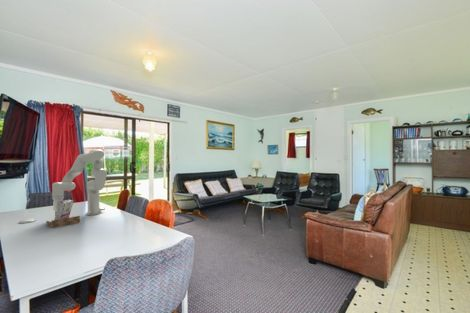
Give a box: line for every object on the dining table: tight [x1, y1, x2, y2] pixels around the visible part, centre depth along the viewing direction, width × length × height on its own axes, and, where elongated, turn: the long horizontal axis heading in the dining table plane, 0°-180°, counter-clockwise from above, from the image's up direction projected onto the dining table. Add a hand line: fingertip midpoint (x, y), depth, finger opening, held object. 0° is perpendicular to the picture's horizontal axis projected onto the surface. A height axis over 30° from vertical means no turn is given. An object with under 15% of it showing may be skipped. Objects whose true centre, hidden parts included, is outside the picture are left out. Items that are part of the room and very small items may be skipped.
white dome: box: [18, 218, 37, 224], centre depth 188 cm, size 10×10×1 cm
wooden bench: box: [46, 215, 81, 228], centre depth 183 cm, size 18×14×5 cm
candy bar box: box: [53, 199, 74, 220], centre depth 190 cm, size 11×5×16 cm, turn 3°
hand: (57, 219), depth 191 cm, fingers closed
